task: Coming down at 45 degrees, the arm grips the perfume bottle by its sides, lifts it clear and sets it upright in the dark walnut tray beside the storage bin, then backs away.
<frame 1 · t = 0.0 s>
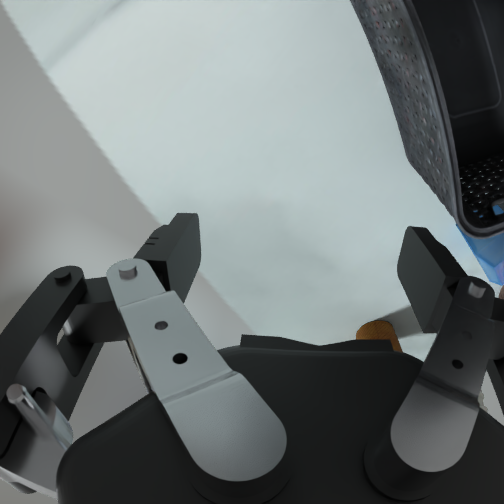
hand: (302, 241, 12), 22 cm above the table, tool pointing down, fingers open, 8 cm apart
storage bin: (452, 39, 22), on the table
perfume bottle: (480, 224, 35), on the table
disposable coffee cup: (374, 331, 49), on the table
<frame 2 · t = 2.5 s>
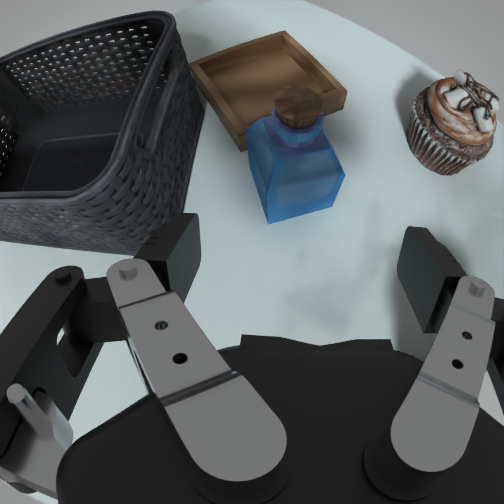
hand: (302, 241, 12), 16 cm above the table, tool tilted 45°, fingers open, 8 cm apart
tray: (265, 91, 34), on the table
storage bin: (79, 169, 33), on the table
perfume bottle: (290, 187, 31), on the table
disposable coffee cup: (423, 401, 24), on the table
cupcake: (436, 146, 31), on the table
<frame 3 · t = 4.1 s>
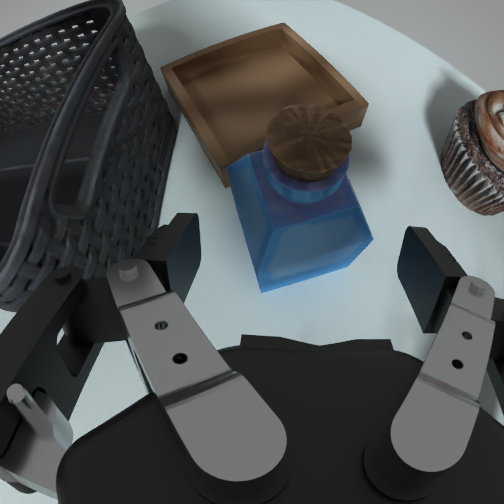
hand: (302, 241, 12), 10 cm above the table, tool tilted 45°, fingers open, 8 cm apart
tray: (259, 101, 26), on the table
storage bin: (31, 206, 25), on the table
perfume bottle: (291, 238, 23), on the table
cupcake: (475, 176, 23), on the table
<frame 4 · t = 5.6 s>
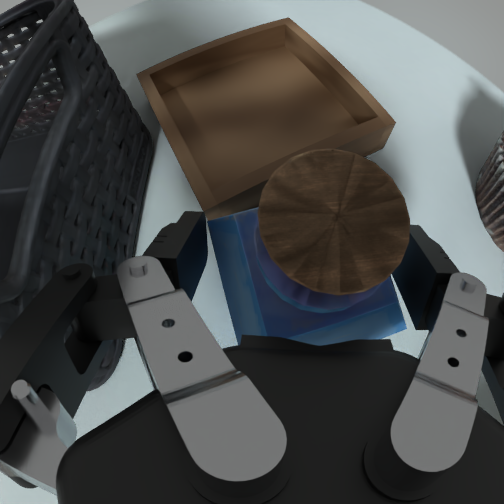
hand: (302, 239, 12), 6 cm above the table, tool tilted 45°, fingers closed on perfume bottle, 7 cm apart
tray: (257, 115, 21), on the table
perfume bottle: (295, 298, 18), on the table, touching gripper
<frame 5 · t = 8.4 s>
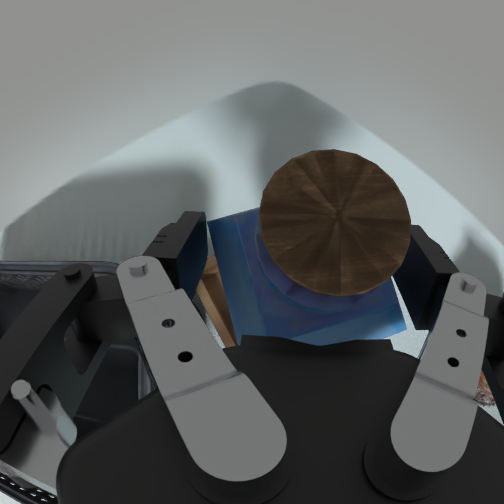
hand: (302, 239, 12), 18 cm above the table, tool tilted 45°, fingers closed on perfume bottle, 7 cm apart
tray: (285, 303, 29), on the table
storage bin: (77, 378, 29), on the table
perfume bottle: (295, 298, 18), point 12 cm above the table, touching gripper
cupcake: (470, 355, 27), on the table
when the fingers open (8 cm above the table, at t = 11.1 s): perfume bottle stays where it is, resting on tray.
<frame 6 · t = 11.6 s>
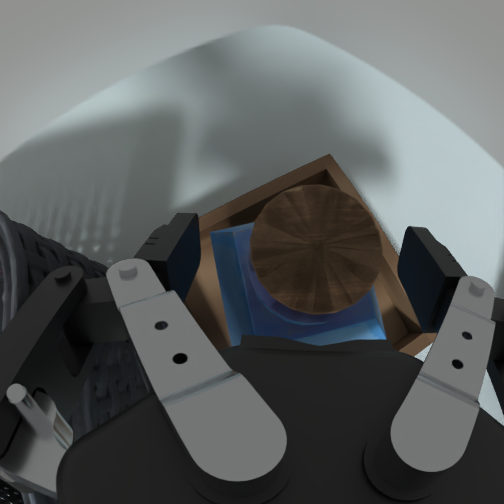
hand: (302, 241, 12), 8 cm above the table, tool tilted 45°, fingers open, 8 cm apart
tray: (289, 302, 20), on the table
storage bin: (13, 393, 19), on the table
perfume bottle: (289, 304, 19), resting on tray
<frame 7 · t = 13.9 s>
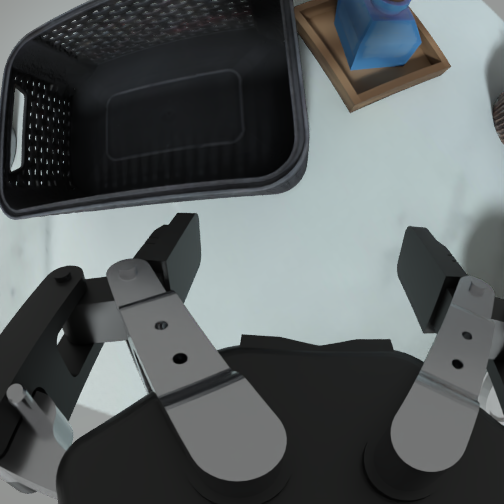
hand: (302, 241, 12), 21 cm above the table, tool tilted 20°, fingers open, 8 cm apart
tray: (368, 44, 28), on the table
storage bin: (170, 116, 33), on the table
perfume bottle: (368, 44, 28), resting on tray
disposable coffee cup: (470, 339, 32), on the table
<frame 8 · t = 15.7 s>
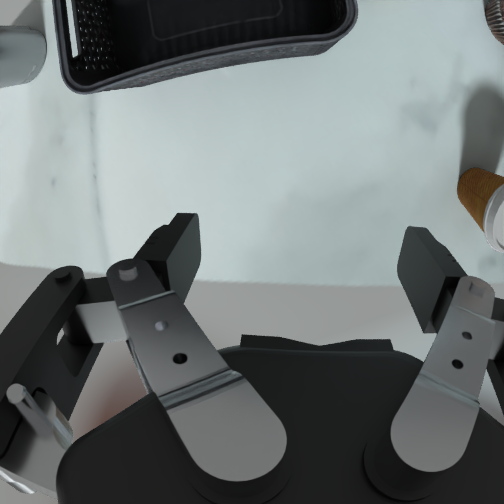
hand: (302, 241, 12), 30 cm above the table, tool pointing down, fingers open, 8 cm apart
storage bin: (212, 0, 31), on the table
disposable coffee cup: (473, 187, 39), on the table
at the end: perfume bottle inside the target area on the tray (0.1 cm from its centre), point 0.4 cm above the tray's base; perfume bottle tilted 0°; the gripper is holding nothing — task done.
